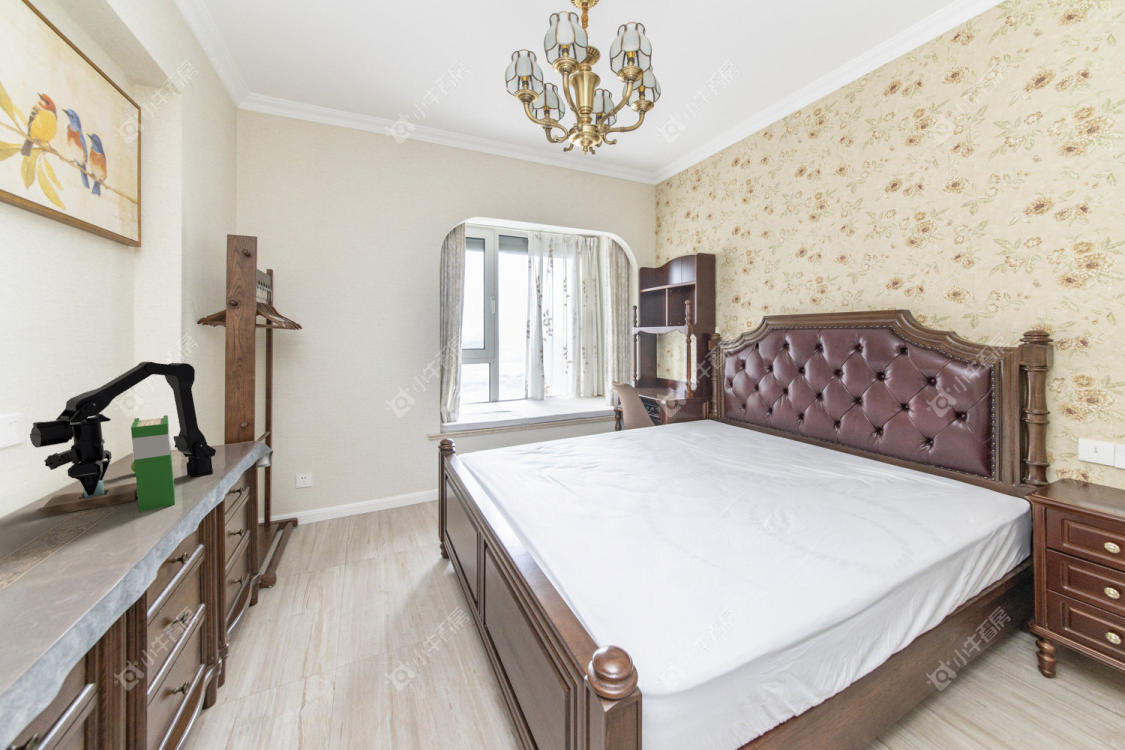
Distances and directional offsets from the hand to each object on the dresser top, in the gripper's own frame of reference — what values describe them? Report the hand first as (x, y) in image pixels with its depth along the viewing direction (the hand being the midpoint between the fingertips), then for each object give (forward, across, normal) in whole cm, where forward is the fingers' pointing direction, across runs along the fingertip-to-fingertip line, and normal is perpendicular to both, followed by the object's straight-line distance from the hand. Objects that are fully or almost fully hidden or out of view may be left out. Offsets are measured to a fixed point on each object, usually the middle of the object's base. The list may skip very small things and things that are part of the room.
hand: (94, 490), depth 128 cm
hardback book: (+4, +9, +14) cm, 17 cm away
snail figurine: (+4, -28, +8) cm, 29 cm away
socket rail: (+4, 0, 0) cm, 4 cm away
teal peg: (+4, 0, 0) cm, 4 cm away
